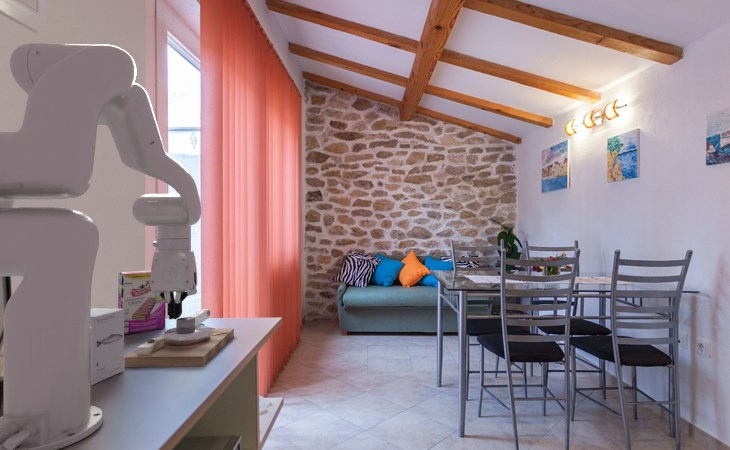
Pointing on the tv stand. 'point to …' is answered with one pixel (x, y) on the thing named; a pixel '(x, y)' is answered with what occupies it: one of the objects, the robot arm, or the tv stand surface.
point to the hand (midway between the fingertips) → (174, 317)
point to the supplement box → (106, 343)
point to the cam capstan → (189, 330)
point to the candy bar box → (140, 303)
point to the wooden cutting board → (178, 351)
